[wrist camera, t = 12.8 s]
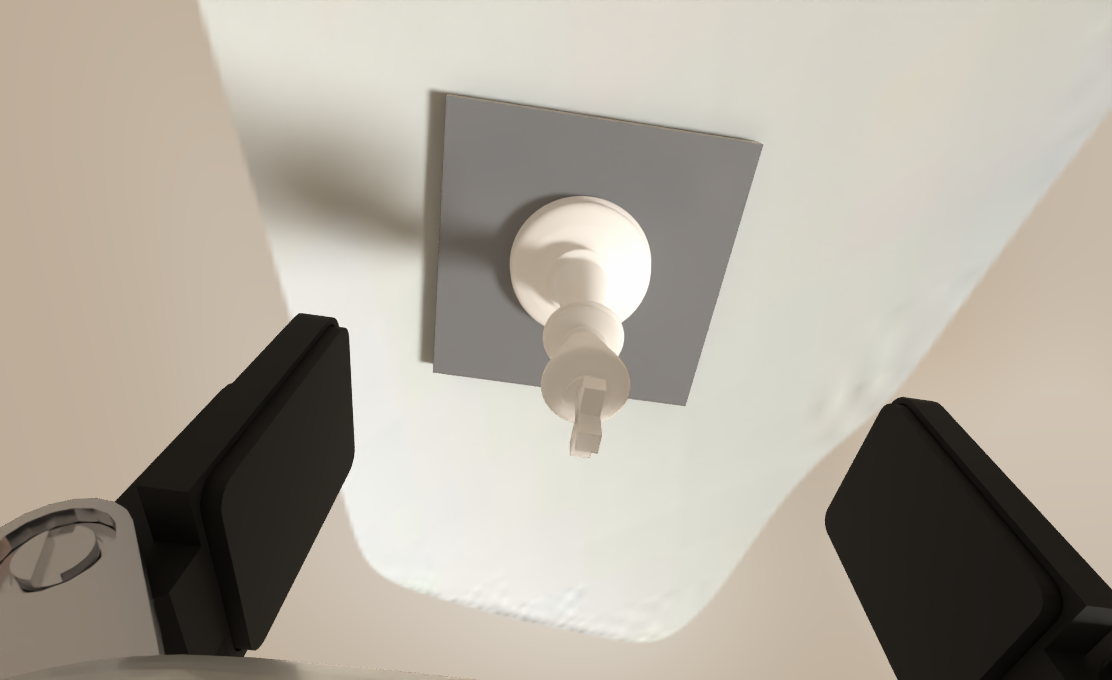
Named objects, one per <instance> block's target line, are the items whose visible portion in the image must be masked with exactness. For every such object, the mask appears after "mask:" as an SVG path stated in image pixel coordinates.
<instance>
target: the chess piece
mask: <svg viewBox="0 0 1112 680" xmlns="http://www.w3.org/2000/svg"><path fill="white" fill-rule="evenodd" d="M510 274H511V281H512V285H513V289H514V292H515V294H516V296H517V298H518V300H519V302H520V304H521V305H522V307H523V308H524V309H525V311H526V312H527V313H528V314H529V315H530V316H531V317H532V318H533V319H535V320H536V321H537V322H539V323H540V324H542V325H543V326H545V327H544V330H543V345H544V348H545V351H546V353H547V355H548V356H549V358H550V361H549V362H548V364H547V365H546V367H545V369H544V372H543V375H542V379H541V391H542V395H543V398H544V400H545V402H546V404H547V405H548V407H549V408H550V409H551V410H552V411H553V412H554V413H555V414H556V415H558V416H559V417H561V418H563V419H565V420H567V421H570V422H574V426H573V430H572V435H571V440H570V455H572V456H579V457H586V458H590V457H591V453H596V454H597V453H598V449H599V445H600V441H601V437H602V432H601V421H603V420H606V419H608V418H610V417H611V416H613V415H614V414H616V413H617V412H618V411H619V410H620V409H621V408H622V407H623V405H624V404H625V402H626V400H627V398H628V395H629V392H630V377H629V373H628V371H627V368H626V366H625V365H624V363H623V362H622V360H621V359H620V358H619V357H618V356H619V354H620V352H621V350H622V347H623V343H624V330H623V326H622V324H621V323H622V322H623V321H624V320H626V319H627V318H628V317H629V316H630V315H631V314H632V313H633V312H634V311H635V310H636V309H637V307H638V306H639V305H640V303H641V302H642V300H643V298H644V296H645V294H646V291H647V289H648V286H649V282H650V276H651V253H650V248H649V244H648V241H647V238H646V236H645V234H644V232H643V230H642V228H641V227H640V225H639V224H638V223H637V221H636V220H635V219H634V218H633V217H632V216H631V215H630V214H629V213H628V212H626V211H625V210H624V209H622V208H621V207H619V206H618V205H616V204H614V203H612V202H610V201H607V200H604V199H601V198H597V197H591V196H572V197H566V198H562V199H558V200H556V201H553V202H551V203H549V204H547V205H545V206H543V207H541V208H540V209H538V210H537V211H536V212H535V213H533V214H532V215H531V216H530V217H529V218H528V219H527V220H526V221H525V223H524V224H523V225H522V227H521V228H520V230H519V231H518V233H517V235H516V237H515V240H514V242H513V245H512V249H511V254H510Z"/></svg>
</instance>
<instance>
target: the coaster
mask: <svg viewBox="0 0 1112 680" xmlns="http://www.w3.org/2000/svg"><path fill="white" fill-rule="evenodd" d="M762 147H763V144H761V143H759V142H756V141H750V140H743V139H737V138H731V137H724V136H718V135H711V134H705V133H698V132H692V131H686V130H679V129H673V128H666V127H660V126H653V125H647V124H640V123H634V122H628V121H621V120H615V119H608V118H602V117H595V116H589V115H583V114H576V113H570V112H563V111H557V110H550V109H544V108H537V107H531V106H525V105H518V104H512V103H505V102H499V101H492V100H486V99H480V98H473V97H467V96H460V95H454V94H449V95H446V114H445V134H444V155H443V176H442V197H441V217H440V238H439V259H438V279H437V300H436V321H435V342H434V362H433V372H434V373H441V374H449V375H456V376H464V377H471V378H479V379H486V380H494V381H501V382H508V383H516V384H523V385H531V386H538V387H541V379H542V375H543V372H544V369H545V367H546V365H547V364H548V362H549V361H550V358H549V356H548V355H547V353H546V351H545V348H544V345H543V330H544V327H545V326H543V325H542V324H540V323H539V322H537V321H536V320H535V319H533V318H532V317H531V316H530V315H529V314H528V313H527V312H526V311H525V309H524V308H523V307H522V305H521V304H520V302H519V300H518V298H517V296H516V294H515V292H514V289H513V285H512V281H511V274H510V254H511V249H512V245H513V242H514V240H515V237H516V235H517V233H518V231H519V230H520V228H521V227H522V225H523V224H524V223H525V221H526V220H527V219H528V218H529V217H530V216H531V215H532V214H533V213H535V212H536V211H537V210H538V209H540V208H541V207H543V206H545V205H547V204H549V203H551V202H553V201H556V200H558V199H562V198H566V197H572V196H591V197H597V198H601V199H604V200H607V201H610V202H612V203H614V204H616V205H618V206H619V207H621V208H622V209H624V210H625V211H626V212H628V213H629V214H630V215H631V216H632V217H633V218H634V219H635V220H636V221H637V223H638V224H639V225H640V227H641V228H642V230H643V232H644V234H645V236H646V238H647V241H648V244H649V248H650V253H651V276H650V282H649V286H648V289H647V291H646V294H645V296H644V298H643V300H642V302H641V303H640V305H639V306H638V307H637V309H636V310H635V311H634V312H633V313H632V314H631V315H630V316H629V317H628V318H627V319H626V320H624V321H623V322H622V323H621V324H622V326H623V330H624V343H623V347H622V350H621V352H620V354H619V356H618V357H619V358H620V359H621V360H622V362H623V363H624V365H625V366H626V368H627V371H628V373H629V377H630V392H629V395H628V399H636V400H643V401H651V402H658V403H666V404H673V405H681V406H685V405H686V402H687V399H688V395H689V392H690V388H691V385H692V382H693V378H694V375H695V372H696V368H697V365H698V362H699V358H700V355H701V352H702V348H703V345H704V342H705V338H706V335H707V331H708V328H709V325H710V321H711V318H712V315H713V311H714V308H715V305H716V301H717V298H718V295H719V291H720V288H721V285H722V281H723V278H724V274H725V271H726V268H727V264H728V261H729V258H730V254H731V251H732V248H733V244H734V241H735V238H736V234H737V231H738V227H739V224H740V221H741V217H742V214H743V211H744V207H745V204H746V201H747V197H748V194H749V191H750V187H751V184H752V181H753V177H754V174H755V170H756V167H757V164H758V160H759V157H760V154H761V150H762Z"/></svg>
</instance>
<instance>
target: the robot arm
mask: <svg viewBox="0 0 1112 680" xmlns="http://www.w3.org/2000/svg"><path fill="white" fill-rule="evenodd" d="M354 452H355V446H354V426H353V406H352V387H351V367H350V347H349V333H348V330H347V329H346V328H343V327H339V324H338V322H337V320H336V319H335V318H332V317H325V316H318V315H311V314H304V313H299V314H298V315H296V316H295V317H294V318H293V319H292V320H291V321H290V322H289V324H288V325H287V326H286V327H285V328H284V329H283V330H282V331H281V332H280V333H279V334H278V335H277V336H276V337H275V338H274V340H273V341H272V342H271V343H270V344H269V345H268V346H267V347H266V348H265V349H264V350H263V351H262V352H261V353H260V354H259V356H258V357H257V358H256V359H255V360H254V361H253V362H252V363H251V364H250V365H249V366H248V367H247V368H246V369H245V370H244V372H242V373H241V375H240V376H239V377H238V378H237V379H236V380H235V381H234V382H233V383H232V384H228V385H227V386H226V387H225V388H223V389H222V390H221V391H220V392H219V393H218V394H217V395H216V396H215V397H214V398H213V399H212V400H211V402H210V403H209V404H208V405H207V406H206V407H205V408H204V409H203V410H202V411H201V412H200V413H199V414H198V415H197V416H196V418H194V420H192V422H190V424H189V425H188V426H187V427H186V428H185V429H184V430H183V431H182V432H181V433H180V434H179V435H178V436H177V437H176V438H175V439H174V440H173V441H172V442H171V443H170V444H169V446H168V447H167V448H166V449H165V450H164V451H163V452H162V453H161V454H160V455H159V456H158V457H157V458H156V459H155V460H154V461H153V462H152V463H151V465H149V466H148V468H147V469H146V470H145V471H144V472H143V473H142V474H141V475H140V476H139V477H138V478H137V479H136V480H135V481H134V482H133V483H132V484H131V485H130V487H129V488H128V489H127V490H126V491H125V492H124V493H123V494H122V495H121V496H120V497H119V498H118V499H117V500H116V501H115V502H113V501H108V500H103V499H98V498H88V499H72V500H67V501H63V502H58V503H54V504H49V505H47V506H44V507H41V508H39V509H36V510H33V511H31V512H28V513H25V514H23V515H22V516H20V517H18V518H16V519H14V520H13V521H11V522H9V523H7V524H5V525H4V526H2V527H0V680H475V679H465V678H456V677H447V676H438V675H429V674H420V673H411V672H402V671H392V670H382V669H372V668H361V667H350V666H339V665H329V664H318V663H307V662H297V661H286V660H275V659H264V658H251V657H244V655H245V653H246V651H247V650H257V649H258V648H259V647H260V646H261V645H262V643H263V642H264V640H265V638H266V636H267V634H268V632H269V630H270V628H271V626H272V624H273V622H274V620H275V618H276V616H277V614H278V612H279V610H280V608H281V606H282V604H283V602H284V600H285V598H286V596H287V594H288V592H289V590H290V588H291V586H292V584H293V583H294V580H295V578H296V576H297V575H298V572H299V571H300V569H301V567H302V565H303V563H304V561H305V559H306V557H307V554H308V553H309V551H310V549H311V547H312V545H313V543H314V541H315V538H316V537H317V535H318V533H319V531H320V529H321V527H322V525H323V523H324V521H325V519H326V517H327V515H328V513H329V511H330V509H331V507H332V505H333V503H334V501H335V499H336V497H337V495H338V493H339V491H340V489H341V487H342V485H343V483H344V481H345V479H346V477H347V475H348V473H349V471H350V469H351V466H352V463H353V459H354ZM825 526H826V530H827V533H828V535H829V537H830V539H831V541H832V544H833V546H834V548H835V550H836V552H837V554H838V556H839V558H840V560H841V562H842V565H843V567H844V568H845V571H846V573H847V575H848V577H849V579H850V581H851V583H852V585H853V587H854V590H855V592H856V594H857V596H858V598H859V600H860V602H861V604H862V606H863V608H864V610H865V613H866V615H867V617H868V619H869V621H870V623H871V625H872V627H873V629H874V631H875V633H876V636H877V638H878V640H879V642H880V644H881V646H882V648H883V650H884V652H885V654H886V656H887V658H888V661H889V663H890V665H891V667H892V669H893V671H894V673H895V675H896V677H897V679H898V680H1112V589H1111V588H1110V587H1109V586H1108V585H1107V584H1106V583H1105V582H1104V580H1102V578H1101V577H1100V576H1099V575H1098V574H1097V573H1096V572H1095V571H1094V570H1093V569H1092V568H1091V567H1090V565H1089V564H1088V563H1087V562H1086V561H1085V560H1084V559H1083V558H1082V557H1081V556H1080V555H1079V553H1078V552H1077V551H1076V550H1075V549H1074V548H1073V547H1072V546H1071V545H1070V544H1069V543H1068V542H1067V541H1066V540H1065V538H1064V537H1063V536H1062V535H1061V534H1060V533H1059V532H1058V531H1057V530H1056V529H1055V528H1054V526H1053V525H1052V524H1051V523H1050V522H1049V521H1048V520H1047V519H1046V518H1045V517H1044V516H1043V515H1042V514H1041V512H1040V511H1039V510H1038V509H1037V508H1036V507H1035V506H1034V505H1033V504H1032V503H1031V502H1030V501H1029V500H1028V498H1027V497H1026V496H1025V495H1024V494H1023V493H1022V492H1021V491H1020V490H1019V489H1018V488H1017V487H1016V486H1015V484H1014V483H1013V482H1012V481H1011V480H1010V479H1009V478H1008V477H1007V476H1006V475H1005V474H1004V473H1003V472H1002V470H1001V469H1000V468H999V467H998V466H997V465H996V464H995V463H994V462H993V461H992V460H991V459H990V457H989V456H988V455H986V454H985V452H984V451H983V450H982V449H981V448H980V447H979V446H978V445H977V443H976V442H975V441H974V440H973V439H972V438H971V437H970V436H969V435H968V434H967V433H966V432H965V430H964V429H963V428H962V427H961V426H960V425H959V424H958V423H957V422H956V421H955V420H954V419H953V418H952V416H951V415H950V414H949V413H948V412H947V411H946V410H945V409H944V408H943V407H942V406H941V405H940V404H939V403H937V402H933V401H927V400H920V399H913V398H906V397H900V398H897V399H896V400H894V401H893V402H892V403H891V404H886V405H885V406H884V407H883V408H882V409H881V411H880V413H879V414H878V416H877V418H876V420H875V422H874V424H873V426H872V427H871V429H870V431H869V433H868V435H867V437H866V439H865V441H864V442H863V445H862V446H861V448H860V450H859V452H858V454H857V455H856V457H855V459H854V461H853V463H852V465H851V467H850V468H849V470H848V472H847V474H846V476H845V478H844V480H843V481H842V483H841V485H840V487H839V489H838V491H837V493H836V495H835V496H834V498H833V500H832V502H831V504H830V506H829V507H828V509H827V512H826V516H825Z"/></svg>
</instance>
